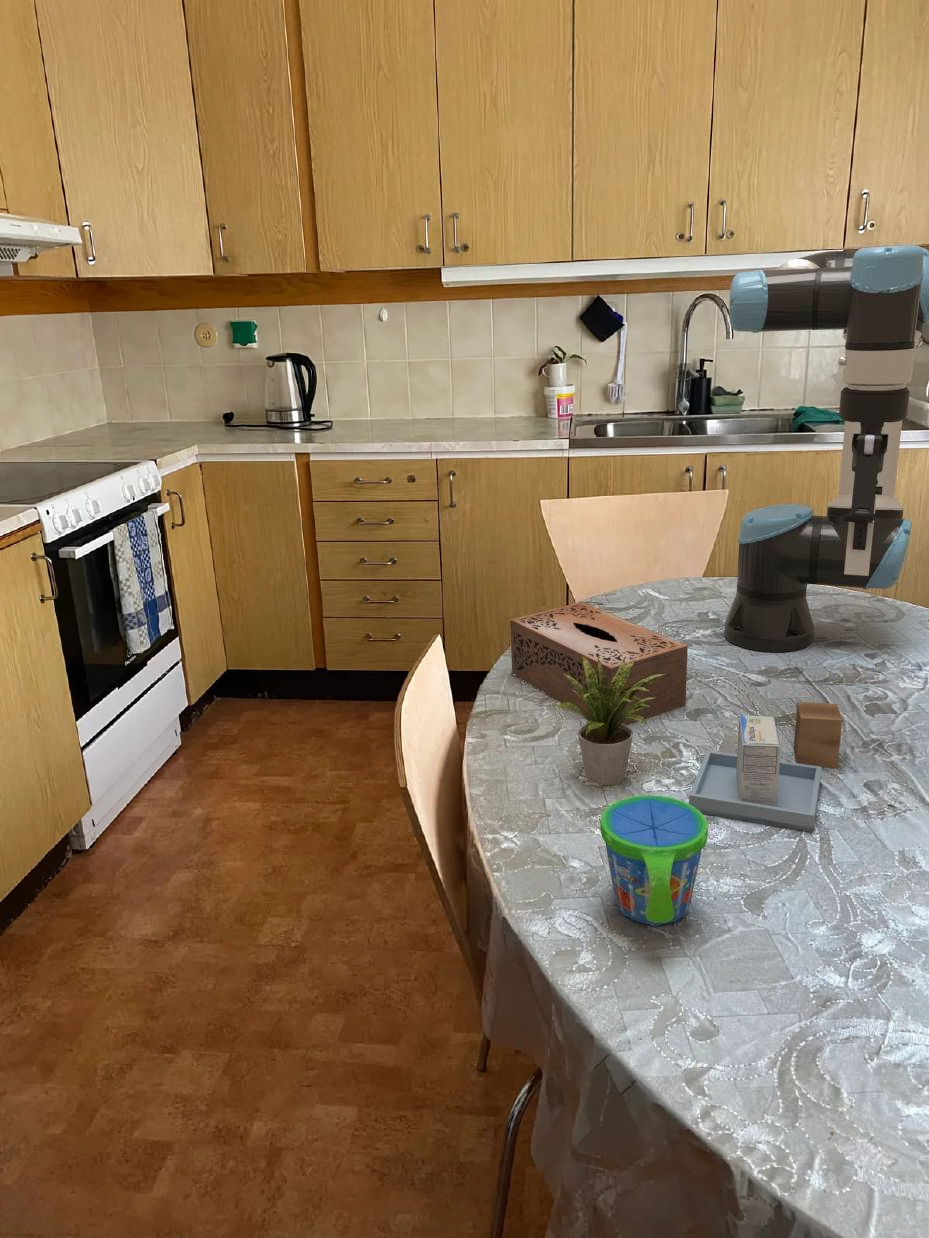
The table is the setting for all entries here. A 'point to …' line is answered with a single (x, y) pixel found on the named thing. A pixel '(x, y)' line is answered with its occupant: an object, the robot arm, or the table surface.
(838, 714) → the walnut block
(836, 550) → the robot arm
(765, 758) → the medicine box
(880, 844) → the table surface
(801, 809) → the grey tray
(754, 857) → the table surface
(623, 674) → the house plant
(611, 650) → the tissue box cover
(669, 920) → the snack cup
